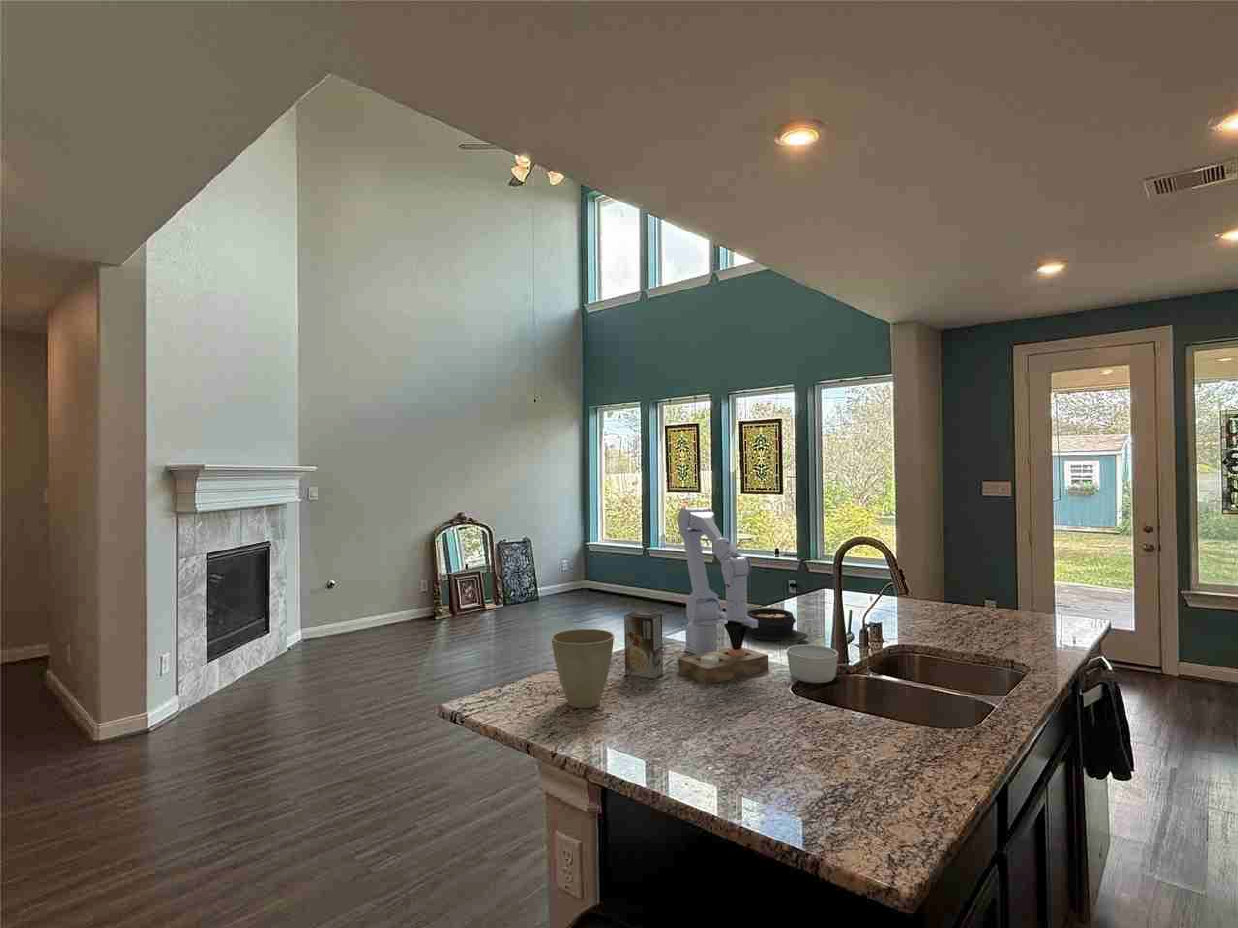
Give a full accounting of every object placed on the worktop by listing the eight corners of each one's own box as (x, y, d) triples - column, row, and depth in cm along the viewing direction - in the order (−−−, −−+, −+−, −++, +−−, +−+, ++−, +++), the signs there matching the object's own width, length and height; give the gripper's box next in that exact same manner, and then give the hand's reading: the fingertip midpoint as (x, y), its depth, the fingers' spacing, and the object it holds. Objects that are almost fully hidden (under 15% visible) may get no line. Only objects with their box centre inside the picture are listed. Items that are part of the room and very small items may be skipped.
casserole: (721, 636, 216) (721, 611, 216) (753, 627, 229) (753, 603, 229) (788, 650, 198) (788, 623, 199) (818, 639, 212) (818, 613, 212)
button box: (678, 672, 177) (678, 658, 177) (737, 659, 190) (737, 645, 190) (708, 684, 167) (707, 669, 167) (768, 669, 180) (768, 655, 180)
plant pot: (621, 695, 160) (621, 630, 160) (604, 717, 146) (603, 645, 146) (564, 690, 164) (564, 626, 164) (542, 711, 150) (541, 641, 150)
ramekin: (841, 686, 165) (841, 659, 165) (788, 683, 168) (787, 656, 168) (835, 670, 178) (834, 645, 178) (785, 668, 181) (785, 643, 181)
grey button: (697, 670, 176) (697, 657, 176) (710, 667, 179) (710, 654, 179) (709, 674, 172) (709, 661, 172) (722, 671, 175) (722, 658, 175)
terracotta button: (724, 660, 182) (724, 648, 182) (737, 657, 185) (737, 645, 185) (736, 664, 178) (736, 652, 178) (749, 661, 181) (749, 649, 181)
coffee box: (664, 672, 178) (663, 613, 178) (654, 679, 172) (653, 618, 172) (634, 668, 182) (633, 610, 182) (623, 674, 176) (623, 615, 177)
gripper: (708, 597, 185) (708, 645, 185) (744, 605, 173) (745, 657, 173) (726, 594, 189) (726, 641, 189) (763, 602, 177) (763, 653, 177)
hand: (736, 648), depth 181 cm, fingers closed, pressing on terracotta button
